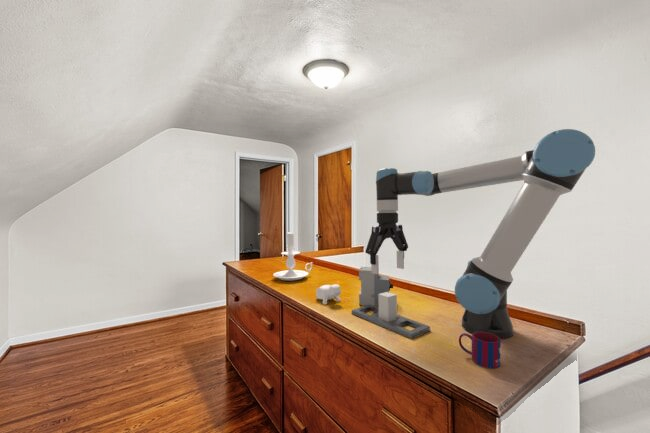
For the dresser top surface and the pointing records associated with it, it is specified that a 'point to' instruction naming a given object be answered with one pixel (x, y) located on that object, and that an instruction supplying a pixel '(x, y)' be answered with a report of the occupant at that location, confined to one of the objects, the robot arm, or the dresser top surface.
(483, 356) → the mug
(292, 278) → the candlestick
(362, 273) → the circuit breaker
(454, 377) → the dresser top surface
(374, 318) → the board with rectangular holes
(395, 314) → the peg
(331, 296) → the white animal figurine
